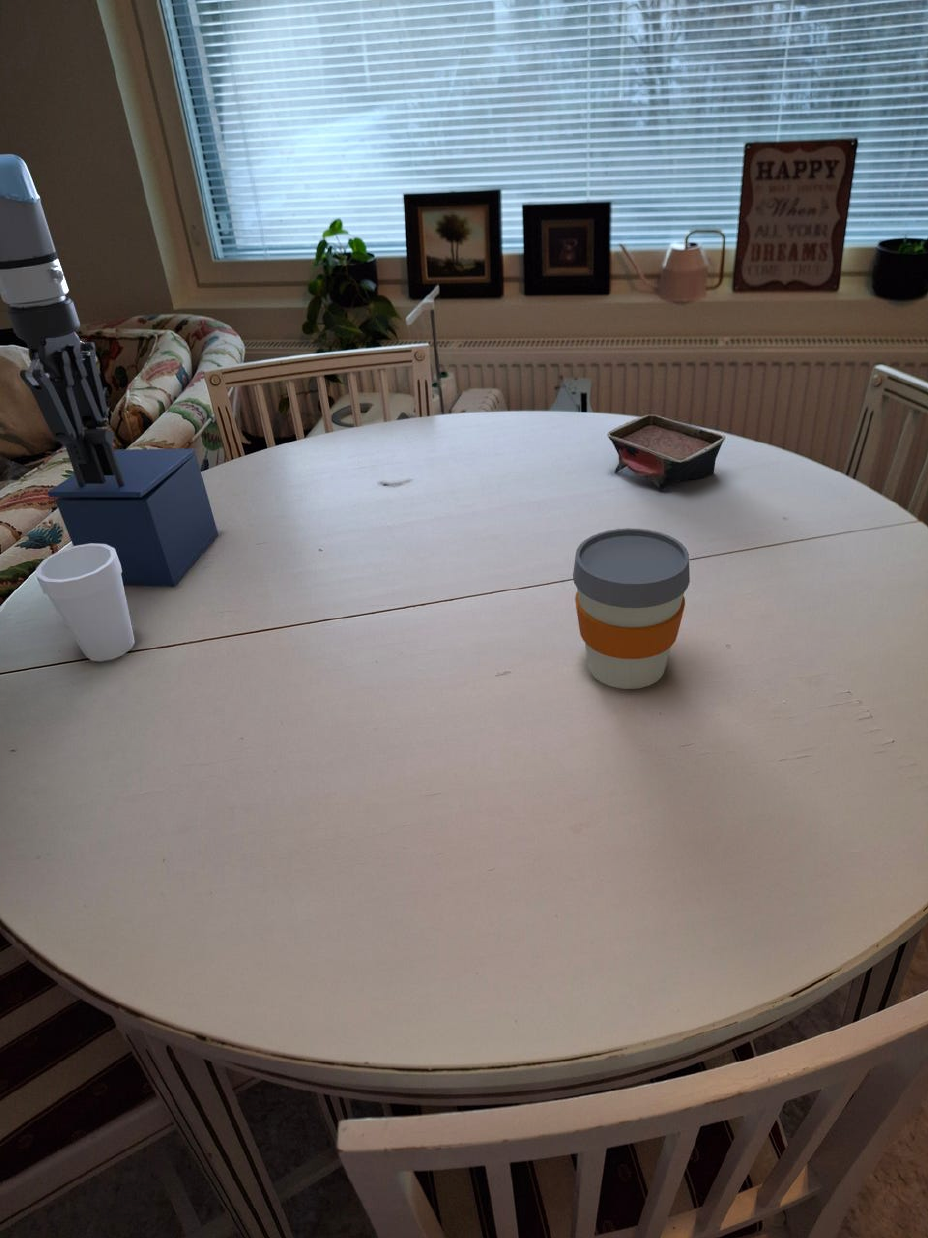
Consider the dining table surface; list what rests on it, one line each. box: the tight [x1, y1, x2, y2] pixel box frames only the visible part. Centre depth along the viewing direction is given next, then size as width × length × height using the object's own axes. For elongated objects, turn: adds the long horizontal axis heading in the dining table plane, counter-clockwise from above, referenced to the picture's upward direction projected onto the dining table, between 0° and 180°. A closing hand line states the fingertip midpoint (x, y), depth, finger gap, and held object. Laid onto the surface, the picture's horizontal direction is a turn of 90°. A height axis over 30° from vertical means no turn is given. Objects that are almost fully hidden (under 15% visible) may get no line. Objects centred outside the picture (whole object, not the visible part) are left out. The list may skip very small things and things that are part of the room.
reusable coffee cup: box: [572, 527, 691, 690], centre depth 90 cm, size 13×13×15 cm
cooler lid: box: [47, 428, 197, 498], centre depth 115 cm, size 17×14×9 cm
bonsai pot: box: [606, 413, 726, 491], centre depth 135 cm, size 14×18×10 cm
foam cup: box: [35, 543, 136, 662], centre depth 102 cm, size 10×9×13 cm
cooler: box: [54, 453, 219, 587], centre depth 122 cm, size 16×14×14 cm
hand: (100, 478), depth 111 cm, fingers closed on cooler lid, 2 cm apart
